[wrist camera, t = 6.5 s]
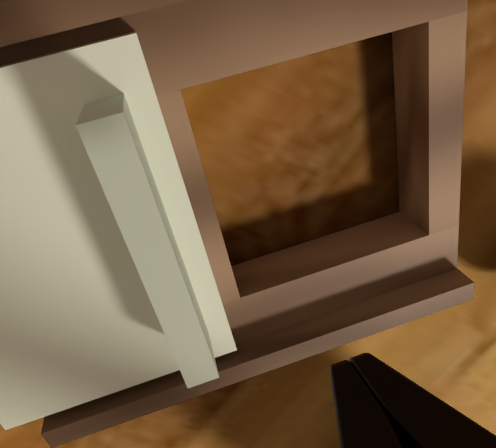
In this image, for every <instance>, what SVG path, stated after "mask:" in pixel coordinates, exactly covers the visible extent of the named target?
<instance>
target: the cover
mask: <svg viewBox="0 0 496 448" xmlns="http://www.w3.org/2000/svg"><path fill="white" fill-rule="evenodd" d="M236 350H237V348H236V345H235V342H234V338H233V335H232V332H231V329H230V326H229V323H228V320H227V316H226V313H225V310H224V307H223V304H222V301H221V297H220V294H219V291H218V288H217V285H216V282H215V279H214V275H213V272H212V269H211V266H210V263H209V260H208V257H207V253H206V250H205V247H204V244H203V241H202V238H201V234H200V231H199V228H198V225H197V222H196V219H195V216H194V212H193V209H192V206H191V203H190V200H189V197H188V194H187V190H186V187H185V184H184V181H183V178H182V175H181V172H180V168H179V165H178V162H177V159H176V156H175V153H174V149H173V146H172V143H171V140H170V137H169V134H168V131H167V127H166V124H165V121H164V118H163V115H162V112H161V109H160V105H159V102H158V99H157V96H156V93H155V90H154V87H153V83H152V80H151V77H150V74H149V71H148V68H147V64H146V61H145V58H144V55H143V52H142V49H141V46H140V42H139V39H138V36H137V33H136V31H134V32H131V33H127V34H123V35H119V36H115V37H111V38H107V39H103V40H99V41H96V42H92V43H88V44H84V45H80V46H76V47H72V48H68V49H64V50H61V51H57V52H53V53H49V54H45V55H41V56H37V57H33V58H29V59H25V60H22V61H18V62H14V63H10V64H6V65H2V66H0V424H1V425H2V427H3V428H4V429H5V430H8V429H11V428H13V427H16V426H19V425H22V424H25V423H28V422H31V421H34V420H37V419H39V418H42V417H45V416H48V415H51V414H54V413H57V412H60V411H63V410H66V409H68V408H71V407H74V406H77V405H80V404H83V403H86V402H89V401H92V400H94V399H97V398H100V397H103V396H106V395H109V394H112V393H115V392H118V391H121V390H123V389H126V388H129V387H132V386H135V385H138V384H141V383H144V382H147V381H149V380H152V379H155V378H158V377H161V376H164V375H167V374H170V373H173V372H176V371H178V370H180V372H181V374H182V376H183V379H184V381H185V383H186V386H187V388H191V387H194V386H197V385H200V384H202V383H205V382H208V381H211V380H214V379H217V378H219V374H218V370H217V366H216V361H215V358H216V357H219V356H222V355H225V354H228V353H231V352H233V351H236Z"/></svg>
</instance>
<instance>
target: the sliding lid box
mask: <svg viewBox="0 0 496 448" xmlns="http://www.w3.org/2000/svg"><path fill="white" fill-rule="evenodd" d="M467 4H468V0H3V1H0V66H2V65H6V64H10V63H14V62H18V61H22V60H25V59H29V58H33V57H37V56H41V55H45V54H49V53H53V52H57V51H61V50H64V49H68V48H72V47H76V46H80V45H84V44H88V43H92V42H96V41H99V40H103V39H107V38H111V37H115V36H119V35H123V34H127V33H131V32H134V31H136V33H137V36H138V39H139V42H140V46H141V49H142V52H143V55H144V58H145V61H146V64H147V68H148V71H149V74H150V77H151V80H152V83H153V87H154V90H155V93H156V96H157V99H158V102H159V105H160V109H161V112H162V115H163V118H164V121H165V124H166V127H167V131H168V134H169V137H170V140H171V143H172V146H173V149H174V153H175V156H176V159H177V162H178V165H179V168H180V172H181V175H182V178H183V181H184V184H185V187H186V190H187V194H188V197H189V200H190V203H191V206H192V209H193V212H194V216H195V219H196V222H197V225H198V228H199V231H200V234H201V238H202V241H203V244H204V247H205V250H206V253H207V257H208V260H209V263H210V266H211V269H212V272H213V275H214V279H215V282H216V285H217V288H218V291H219V294H220V297H221V301H222V304H223V307H224V310H225V313H226V316H227V320H228V323H229V326H230V329H231V332H232V335H233V338H234V342H235V345H236V348H237V350H236V351H233V352H231V353H228V354H225V355H222V356H219V357H216V358H215V361H216V366H217V370H218V374H219V378H217V379H214V380H211V381H208V382H205V383H202V384H200V385H197V386H194V387H191V388H187V386H186V383H185V381H184V379H183V376H182V374H181V372H180V370H178V371H176V372H173V373H170V374H167V375H164V376H161V377H158V378H155V379H152V380H149V381H147V382H144V383H141V384H138V385H135V386H132V387H129V388H126V389H123V390H121V391H118V392H115V393H112V394H109V395H106V396H103V397H100V398H97V399H94V400H92V401H89V402H86V403H83V404H80V405H77V406H74V407H71V408H68V409H66V410H63V411H60V412H57V413H54V414H51V415H48V416H45V417H44V422H43V427H42V432H41V435H42V436H43V437H44V439H45V440H46V441H47V443H48V444H49V445H50V447H51V448H53V447H56V446H59V445H62V444H65V443H67V442H70V441H73V440H76V439H79V438H82V437H84V436H87V435H90V434H93V433H96V432H99V431H101V430H104V429H107V428H110V427H113V426H115V425H118V424H121V423H124V422H127V421H130V420H132V419H135V418H138V417H141V416H144V415H147V414H149V413H152V412H155V411H158V410H161V409H164V408H166V407H169V406H172V405H175V404H178V403H180V402H183V401H186V400H189V399H192V398H195V397H197V396H200V395H203V394H206V393H209V392H212V391H214V390H217V389H220V388H223V387H226V386H229V385H231V384H234V383H237V382H240V381H243V380H246V379H248V378H251V377H254V376H257V375H260V374H262V373H265V372H268V371H271V370H274V369H277V368H279V367H282V366H285V365H288V364H291V363H294V362H296V361H299V360H302V359H305V358H308V357H311V356H313V355H316V354H319V353H322V352H325V351H327V350H330V349H333V348H336V347H339V346H342V345H344V344H347V343H350V342H353V341H356V340H359V339H361V338H364V337H367V336H370V335H373V334H376V333H378V332H381V331H384V330H387V329H390V328H393V327H395V326H398V325H401V324H404V323H407V322H409V321H412V320H415V319H418V318H421V317H424V316H426V315H429V314H432V313H435V312H438V311H441V310H443V309H446V308H449V307H452V306H455V305H458V304H460V303H463V302H466V301H469V300H472V299H473V293H474V282H473V281H472V280H470V279H469V278H468V277H467V276H466V275H464V274H463V273H462V272H461V271H460V270H458V269H457V261H458V235H459V209H460V184H461V158H462V132H463V107H464V81H465V55H466V29H467ZM389 32H392V44H393V68H394V92H395V116H396V141H397V165H398V189H399V212H397V213H394V214H391V215H388V216H385V217H382V218H379V219H375V220H372V221H369V222H366V223H363V224H360V225H357V226H354V227H351V228H348V229H345V230H341V231H338V232H335V233H332V234H329V235H326V236H323V237H320V238H317V239H314V240H310V241H307V242H304V243H301V244H298V245H295V246H292V247H289V248H286V249H283V250H280V251H276V252H273V253H270V254H267V255H264V256H261V257H258V258H255V259H252V260H249V261H246V262H242V263H239V264H236V265H233V266H231V264H230V260H229V257H228V253H227V250H226V247H225V243H224V240H223V236H222V233H221V229H220V226H219V222H218V219H217V215H216V212H215V208H214V205H213V201H212V198H211V194H210V191H209V187H208V184H207V181H206V177H205V174H204V170H203V167H202V163H201V160H200V156H199V153H198V149H197V146H196V142H195V139H194V135H193V132H192V128H191V125H190V121H189V118H188V115H187V111H186V108H185V104H184V101H183V97H182V94H181V90H182V89H185V88H189V87H192V86H196V85H200V84H203V83H207V82H211V81H214V80H218V79H222V78H225V77H229V76H233V75H236V74H240V73H243V72H247V71H251V70H254V69H258V68H262V67H265V66H269V65H273V64H276V63H280V62H284V61H287V60H291V59H294V58H298V57H302V56H305V55H309V54H313V53H316V52H320V51H324V50H327V49H331V48H334V47H338V46H342V45H345V44H349V43H353V42H356V41H360V40H364V39H367V38H371V37H375V36H378V35H382V34H385V33H389Z"/></svg>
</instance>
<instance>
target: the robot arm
mask: <svg viewBox="0 0 496 448" xmlns="http://www.w3.org/2000/svg"><path fill="white" fill-rule="evenodd" d="M329 369H330V376H331V383H332V390H333V397H334V404H335V411H336V418H337V425H338V432H339V439H340V446H341V448H496V435H494V434H492V433H491V432H489V431H488V430H486V429H485V428H483V427H482V426H480V425H479V424H477V423H476V422H474V421H473V420H471V419H469V418H468V417H466V416H465V415H463V414H462V413H460V412H459V411H457V410H456V409H454V408H453V407H451V406H450V405H448V404H446V403H445V402H443V401H442V400H440V399H439V398H437V397H436V396H434V395H433V394H431V393H430V392H428V391H427V390H425V389H423V388H422V387H420V386H419V385H417V384H416V383H414V382H413V381H411V380H410V379H408V378H407V377H405V376H404V375H402V374H400V373H399V372H397V371H396V370H394V369H393V368H391V367H390V366H388V365H387V364H385V363H384V362H382V361H381V360H379V359H378V358H376V357H374V356H373V355H371V354H369V353H363V354H360V355H358V356H355V357H352V358H350V360H349V361H348V360H344V361H341V362H338V363H335V364H333V365H331V366H330V368H329Z"/></svg>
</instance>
